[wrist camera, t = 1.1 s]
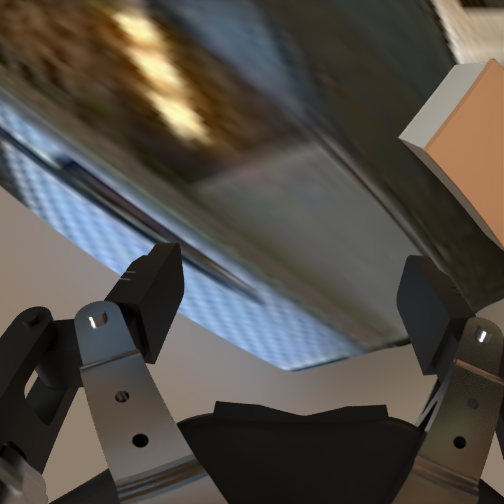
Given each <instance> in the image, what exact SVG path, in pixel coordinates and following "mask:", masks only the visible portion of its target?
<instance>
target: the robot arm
mask: <svg viewBox="0 0 504 504" xmlns="http://www.w3.org/2000/svg"><path fill="white" fill-rule="evenodd" d="M183 295H184V275H183V266H182V257H181V249H180V245H179V244H178V243H162V242H158V243H156V245H155V246H154V247H153V249H152V250H151V251H150V253H149V254H148V255H143V256H141V257H139V258H138V259H136V260H135V261H133V262H132V263H131V264H130V266H129V267H128V268H127V270H126V272H124V274H123V275H122V276H121V279H119V281H118V282H117V283H116V285H115V286H114V287H113V289H112V290H111V291H110V293H109V294H108V295H107V297H106V298H105V300H104V301H97V302H93V303H90V304H88V305H86V306H84V307H83V308H81V309H80V310H79V311H78V313H77V314H76V316H75V319H68V320H56V321H54V320H53V317H52V315H51V312H50V310H49V309H47V308H45V307H39V306H38V307H32V308H29V309H26V310H25V311H23V312H21V313H20V314H19V315H18V316H17V317H16V318H15V319H14V321H13V322H12V323H11V325H10V326H9V327H8V328H7V330H6V331H5V332H4V334H3V335H2V336H1V338H0V504H47V503H48V497H47V495H46V484H45V481H44V479H43V477H42V473H43V471H44V468H45V466H46V463H47V460H48V458H49V455H50V453H51V450H52V448H53V445H54V443H55V440H56V438H57V436H58V433H59V430H60V428H61V426H62V424H63V421H64V419H65V417H66V415H67V412H68V410H69V408H70V406H71V403H72V401H73V399H74V397H75V395H76V392H77V390H78V388H79V387H84V390H85V394H86V398H87V402H88V405H89V409H90V412H91V416H92V419H93V422H94V426H95V429H96V432H97V435H98V438H99V441H100V444H101V447H102V450H103V453H104V456H105V458H106V461H107V464H108V467H109V468H108V469H106V470H105V471H103V472H102V473H100V474H98V475H97V476H95V477H93V478H92V479H90V480H89V481H87V482H85V483H84V484H82V485H80V486H79V487H77V488H75V489H73V490H72V491H70V492H68V493H67V494H65V495H63V496H61V497H60V498H58V499H56V500H54V501H52V502H51V503H49V504H504V497H503V496H501V495H500V494H499V493H498V492H497V491H495V490H494V489H493V488H492V487H490V486H489V485H488V484H487V483H485V482H484V481H483V480H482V479H481V478H480V477H481V474H482V471H483V469H484V465H485V463H486V459H487V456H488V453H489V450H490V446H491V443H492V439H493V436H494V432H495V431H496V435H497V438H498V441H499V445H500V448H501V451H502V455H503V459H504V336H503V333H502V331H501V329H500V328H499V327H498V326H497V325H496V324H495V323H493V322H492V321H490V320H488V319H485V318H482V317H476V315H475V314H474V312H473V311H472V309H471V307H470V306H469V304H468V303H467V301H466V300H465V298H464V297H463V296H461V295H462V294H461V292H460V291H459V290H458V289H457V287H456V285H455V284H454V282H453V281H452V279H451V278H450V277H448V276H447V275H446V274H445V273H443V272H442V271H441V270H439V269H438V268H437V266H436V265H435V264H434V262H433V261H432V259H431V258H430V257H429V256H415V255H410V256H408V258H407V260H406V263H405V267H404V271H403V274H402V278H401V281H400V285H399V289H398V292H397V308H398V311H399V313H400V316H401V318H402V321H403V323H404V325H405V328H406V330H407V333H408V335H409V338H410V341H411V343H412V346H413V348H414V351H415V354H416V356H417V359H418V362H419V364H420V367H421V370H422V373H423V375H434V374H437V377H438V379H437V380H436V382H435V384H434V386H433V388H432V390H431V392H430V394H429V397H428V399H427V401H426V403H425V405H424V407H423V409H422V411H421V413H420V415H419V417H418V419H417V421H416V423H415V425H413V424H411V423H409V422H406V421H404V420H401V419H397V418H393V417H388V412H387V407H386V405H371V406H347V407H343V408H339V409H335V410H330V411H326V412H322V413H317V414H312V415H307V416H301V415H296V414H292V413H288V412H284V411H280V410H276V409H273V408H269V407H265V406H261V405H255V404H242V403H231V402H220V401H216V403H215V408H214V413H208V414H202V415H197V416H194V417H190V418H187V419H185V420H182V421H180V422H178V423H175V421H174V419H173V417H172V416H171V414H170V412H169V410H168V408H167V406H166V404H165V402H164V400H163V398H162V397H161V395H160V392H159V391H158V388H157V386H156V385H155V383H154V380H153V378H152V376H151V375H150V372H149V370H148V368H147V366H146V364H145V363H149V364H155V362H156V360H157V357H158V355H159V353H160V350H161V348H162V345H163V343H164V341H165V338H166V335H167V333H168V331H169V329H170V326H171V324H172V322H173V319H174V317H175V315H176V312H177V310H178V308H179V305H180V303H181V301H182V298H183ZM34 369H35V371H36V372H37V374H38V377H37V379H36V381H35V383H34V384H33V386H32V388H31V390H30V391H29V393H28V395H27V397H26V399H25V395H24V389H25V385H26V383H27V381H28V380H29V378H30V376H31V375H32V373H33V371H34Z"/></svg>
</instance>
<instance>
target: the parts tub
mask: <svg viewBox="0 0 504 504" xmlns="http://www.w3.org/2000/svg"><path fill="white" fill-rule="evenodd" d="M486 64H487V63H479V64H462V65H454V67H453V68H452V69H451V71H450V72H449V73H448V75H447V76H446V77H445V79H444V80H443V81H442V83H441V84H440V85H439V87H438V88H437V89H436V90H435V92H434V93H433V94H432V96H431V97H430V98H429V99H428V101H427V102H426V103H425V105H424V106H423V107H422V108H421V110H420V111H419V112H418V114H417V115H416V116H415V117H414V119H413V120H412V121H411V122H410V124H409V125H408V126H407V127H406V129H405V130H404V131H403V132H402V134H401V135H400V136H399V137H398V138H399V139H400V140H401V141H402V142H403V143H404V144H405V145H406V146H407V147H408V148H409V149H410V150H411V151H412V152H413V153H414V154H415V155H416V156H417V157H418V158H419V159H420V160H421V161H422V162H423V163H424V164H425V165H426V166H427V167H428V168H429V169H430V170H431V171H432V172H433V173H434V174H435V175H436V176H437V178H438V179H439V180H440V181H441V182H442V183H443V184H444V185H445V186H446V187H447V189H448V190H449V191H450V192H451V193H452V194H453V195H454V197H455V198H456V199H457V200H458V201H459V202H460V204H461V205H462V206H463V207H464V208H465V210H466V211H467V212H468V213H469V215H470V216H471V217H472V218H473V220H474V221H475V222H476V223H477V225H478V226H479V227H480V228H481V230H482V231H483V232H484V234H485V235H487V236H488V237H489V238H490V239H491V240H492V241H493V242H494V243H495V244H497V245H498V246H499V247H500V248H501V249H502V250H503V251H504V249H503V248H502V246H501V245H500V244H499V242H498V241H497V239H496V238H495V236H494V235H493V234H492V232H491V231H490V230H489V228H488V227H487V225H486V224H485V223H484V221H483V220H482V219H481V218H480V216H479V215H478V214H477V212H476V211H475V210H474V209H473V207H472V206H471V205H470V203H469V202H468V201H467V200H466V199H465V197H464V196H463V195H462V194H461V193H460V191H459V190H458V189H457V188H456V187H455V185H454V184H453V183H452V182H451V181H450V180H449V179H448V177H447V176H446V175H445V174H444V173H443V172H442V171H441V170H440V168H439V167H438V166H437V165H436V164H435V163H434V162H433V161H432V160H431V159H430V158H429V157H428V156H427V155H426V154H425V153H424V151H423V150H422V149H423V148H424V147H425V146H426V144H427V143H428V142H429V141H430V139H431V138H432V137H433V135H434V134H435V133H436V132H437V130H438V129H439V128H440V126H441V125H442V124H443V123H444V121H445V120H446V119H447V117H448V116H449V115H450V113H451V112H452V111H453V110H454V108H455V107H456V106H457V104H458V103H459V102H460V100H461V99H462V97H463V96H464V95H465V93H466V92H467V91H468V89H469V88H470V87H471V85H472V84H473V82H474V81H475V80H476V78H477V77H478V75H479V74H480V73H481V71H482V70H483V68H484V67H485V66H486Z"/></svg>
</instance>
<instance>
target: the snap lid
mask: <svg viewBox="0 0 504 504" xmlns="http://www.w3.org/2000/svg"><path fill="white" fill-rule="evenodd" d="M422 150H423V151H424V153H425V154H426V155H427V156H428V157H429V158H430V159H431V160H432V161H433V162H434V163H435V164H436V165H437V166H438V167H439V168H440V170H441V171H442V172H443V173H444V174H445V175H446V176H447V177H448V179H449V180H450V181H451V182H452V183H453V184H454V185H455V187H456V188H457V189H458V190H459V191H460V193H461V194H462V195H463V196H464V197H465V199H466V200H467V201H468V202H469V203H470V205H471V206H472V207H473V209H474V210H475V211H476V212H477V214H478V215H479V216H480V218H481V219H482V220H483V221H484V223H485V224H486V225H487V227H488V228H489V230H490V231H491V232H492V234H493V235H494V236H495V238H496V239H497V241H498V242H499V244H500V245H501V246H502V248H503V249H504V70H503V68H502V67H501V66H500V64H499V63H498V62H497V61H496V59H490V60H489V61H488V63H487V64H486V66H485V67H484V68H483V70H482V71H481V73H480V74H479V75H478V77H477V78H476V80H475V81H474V82H473V84H472V85H471V87H470V88H469V89H468V91H467V92H466V93H465V95H464V96H463V97H462V99H461V100H460V102H459V103H458V104H457V106H456V107H455V108H454V110H453V111H452V112H451V113H450V115H449V116H448V117H447V119H446V120H445V121H444V123H443V124H442V125H441V126H440V128H439V129H438V130H437V132H436V133H435V134H434V135H433V137H432V138H431V139H430V141H429V142H428V143H427V144H426V146H425V147H424V148H423V149H422Z"/></svg>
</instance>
